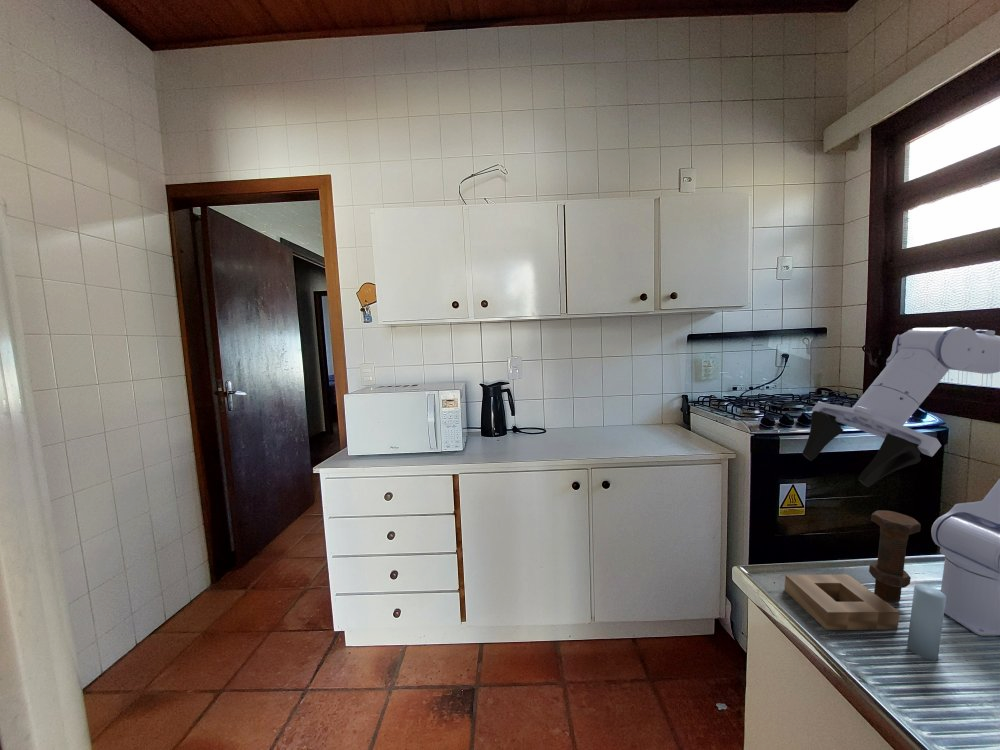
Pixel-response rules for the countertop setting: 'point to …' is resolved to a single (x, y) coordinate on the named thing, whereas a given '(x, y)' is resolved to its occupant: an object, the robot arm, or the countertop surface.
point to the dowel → (926, 621)
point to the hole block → (852, 612)
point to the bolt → (892, 554)
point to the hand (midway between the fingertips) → (833, 469)
